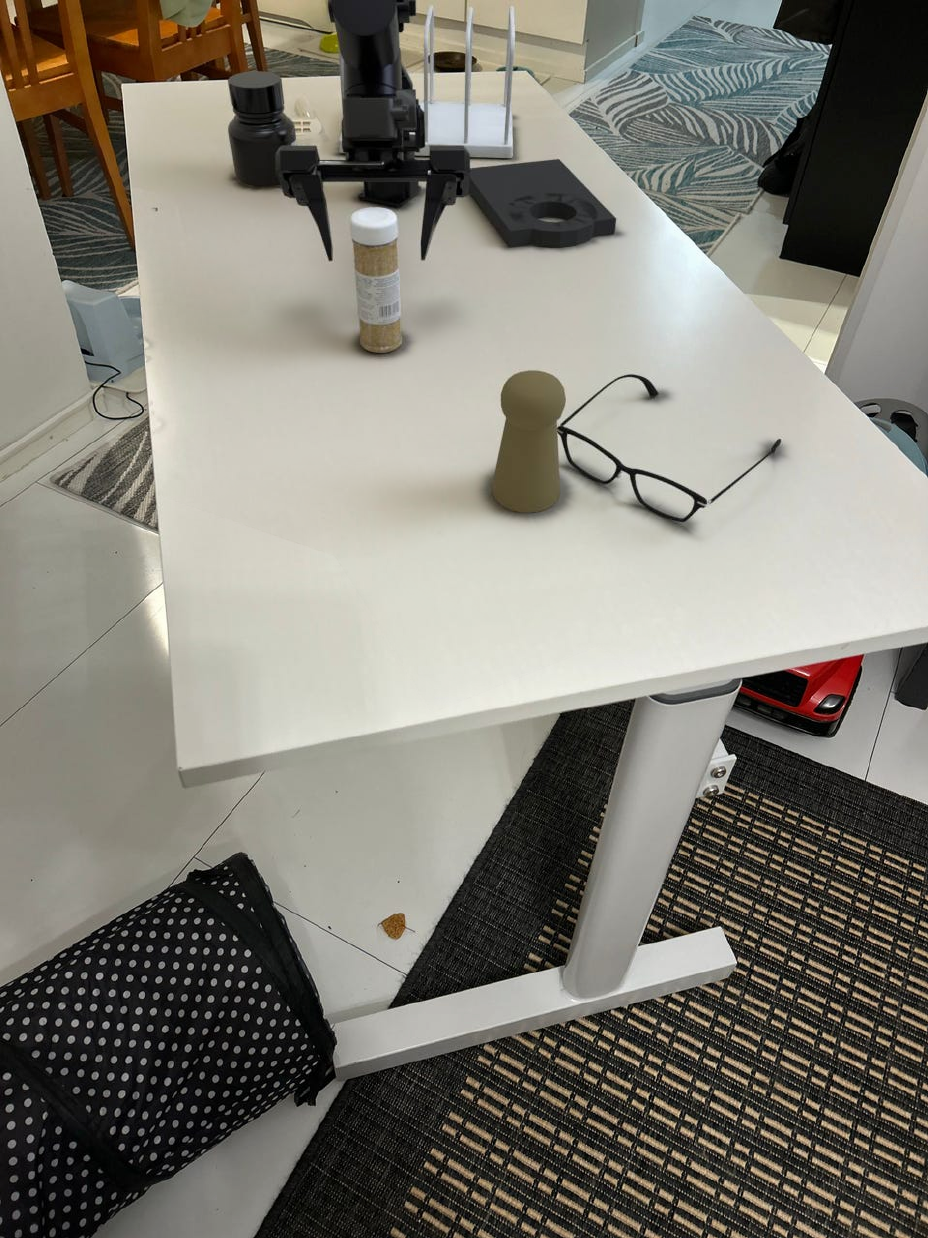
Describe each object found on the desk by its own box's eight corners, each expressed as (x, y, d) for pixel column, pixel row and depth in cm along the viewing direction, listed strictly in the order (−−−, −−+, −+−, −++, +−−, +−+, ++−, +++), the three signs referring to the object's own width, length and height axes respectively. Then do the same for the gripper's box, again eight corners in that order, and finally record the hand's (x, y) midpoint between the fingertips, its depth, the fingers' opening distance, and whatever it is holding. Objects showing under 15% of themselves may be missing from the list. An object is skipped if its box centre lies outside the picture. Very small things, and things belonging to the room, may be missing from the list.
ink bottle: (304, 187, 122) (293, 89, 113) (238, 193, 121) (222, 93, 112) (296, 160, 128) (285, 65, 120) (233, 165, 127) (217, 69, 118)
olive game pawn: (512, 520, 76) (520, 409, 68) (479, 480, 79) (482, 370, 71) (573, 500, 78) (587, 389, 70) (537, 461, 81) (547, 352, 73)
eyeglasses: (543, 459, 82) (547, 422, 79) (642, 388, 90) (648, 352, 87) (700, 542, 74) (710, 504, 71) (792, 456, 82) (804, 419, 79)
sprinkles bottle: (395, 329, 97) (389, 202, 87) (408, 350, 94) (403, 221, 84) (354, 336, 96) (343, 208, 86) (365, 358, 93) (356, 228, 83)
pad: (462, 183, 124) (462, 168, 122) (557, 173, 127) (559, 158, 125) (513, 253, 110) (514, 236, 108) (619, 239, 112) (621, 223, 111)
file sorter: (339, 155, 130) (328, 29, 119) (352, 113, 142) (344, -5, 130) (512, 159, 130) (518, 34, 118) (511, 116, 142) (516, -1, 130)
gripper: (262, 50, 80) (267, 226, 81) (471, 50, 81) (474, 226, 82) (283, 115, 92) (287, 270, 92) (466, 115, 92) (469, 269, 93)
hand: (376, 259), depth 89 cm, fingers open, 9 cm apart
